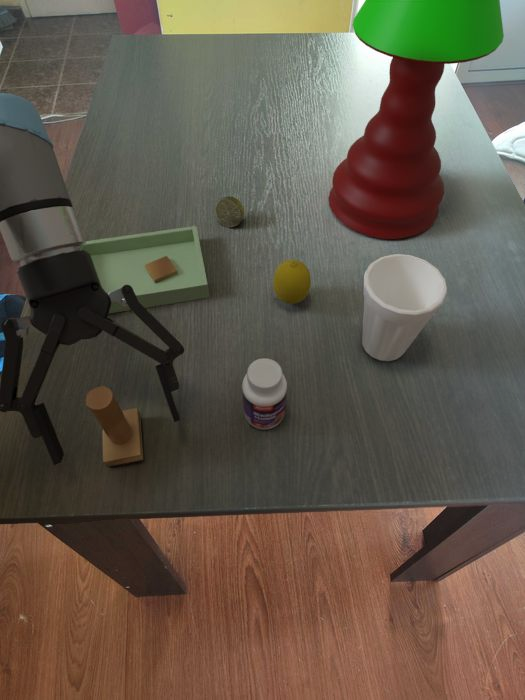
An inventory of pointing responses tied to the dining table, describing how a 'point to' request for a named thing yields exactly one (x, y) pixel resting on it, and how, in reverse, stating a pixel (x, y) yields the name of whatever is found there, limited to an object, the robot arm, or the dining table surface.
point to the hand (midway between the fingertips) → (119, 438)
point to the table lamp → (408, 111)
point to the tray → (139, 249)
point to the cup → (398, 303)
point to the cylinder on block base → (116, 428)
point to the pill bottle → (264, 394)
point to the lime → (229, 211)
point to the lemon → (292, 281)
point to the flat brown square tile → (161, 269)
